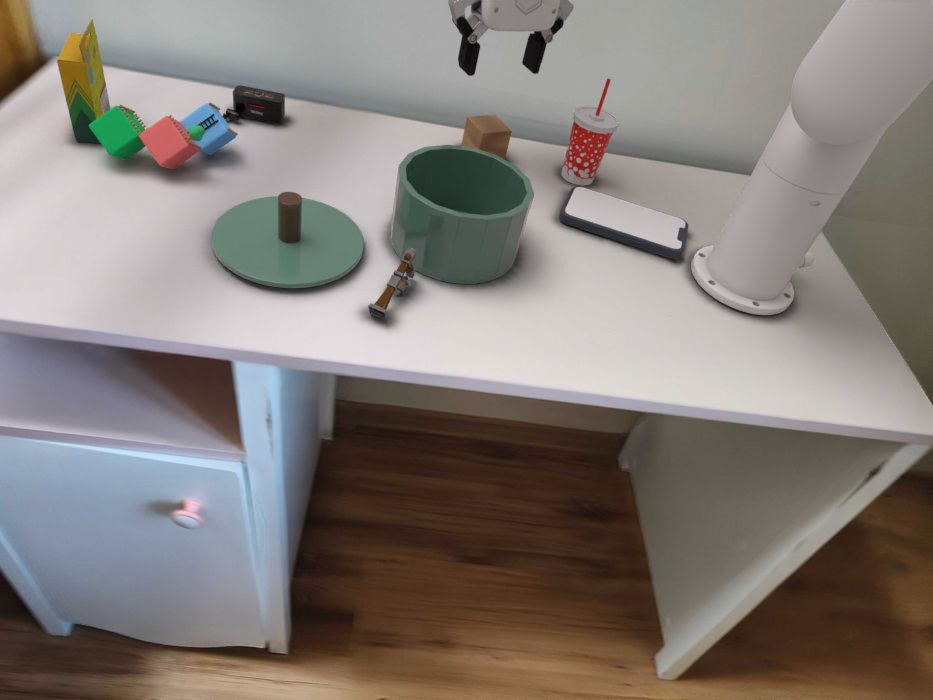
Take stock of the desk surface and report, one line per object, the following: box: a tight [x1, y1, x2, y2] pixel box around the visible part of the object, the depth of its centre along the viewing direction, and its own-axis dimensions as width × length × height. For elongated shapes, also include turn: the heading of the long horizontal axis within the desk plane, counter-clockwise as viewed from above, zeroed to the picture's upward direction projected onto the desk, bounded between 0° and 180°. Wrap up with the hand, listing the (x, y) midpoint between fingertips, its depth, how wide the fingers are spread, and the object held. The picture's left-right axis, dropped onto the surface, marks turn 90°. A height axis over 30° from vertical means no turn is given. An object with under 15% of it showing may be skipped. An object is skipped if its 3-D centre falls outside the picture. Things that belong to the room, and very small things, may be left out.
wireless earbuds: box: [222, 85, 286, 125], centre depth 91 cm, size 5×7×3 cm, turn 87°
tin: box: [389, 144, 535, 285], centre depth 77 cm, size 15×15×8 cm
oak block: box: [460, 114, 513, 160], centre depth 95 cm, size 5×5×5 cm
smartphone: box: [558, 185, 689, 260], centre depth 89 cm, size 9×2×16 cm
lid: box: [211, 191, 365, 289], centre depth 72 cm, size 16×16×6 cm
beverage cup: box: [560, 78, 620, 187], centre depth 92 cm, size 6×6×14 cm
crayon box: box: [56, 19, 112, 144], centre depth 80 cm, size 7×3×12 cm, turn 10°
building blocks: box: [89, 101, 239, 170], centre depth 80 cm, size 8×8×12 cm
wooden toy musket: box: [367, 248, 416, 322], centre depth 70 cm, size 2×8×4 cm, turn 157°
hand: (498, 70), depth 89 cm, fingers open, 9 cm apart
